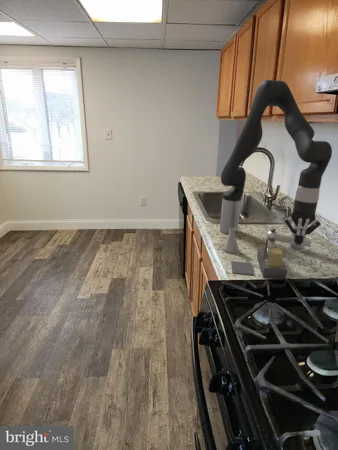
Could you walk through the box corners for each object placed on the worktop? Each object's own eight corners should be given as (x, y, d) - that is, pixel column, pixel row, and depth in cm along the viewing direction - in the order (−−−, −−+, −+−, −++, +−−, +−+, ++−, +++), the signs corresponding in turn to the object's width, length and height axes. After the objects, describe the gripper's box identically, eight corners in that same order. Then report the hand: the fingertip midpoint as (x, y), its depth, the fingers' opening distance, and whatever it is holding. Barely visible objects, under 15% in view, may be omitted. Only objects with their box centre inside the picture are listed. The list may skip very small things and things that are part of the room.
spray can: (301, 246, 140) (309, 205, 134) (305, 252, 134) (313, 209, 127) (286, 245, 141) (294, 204, 134) (289, 250, 135) (297, 207, 128)
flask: (227, 245, 138) (229, 225, 135) (241, 250, 134) (244, 229, 130) (218, 250, 133) (221, 229, 129) (233, 255, 128) (236, 233, 125)
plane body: (257, 257, 127) (260, 235, 124) (276, 259, 126) (280, 237, 123) (262, 277, 110) (266, 253, 107) (285, 280, 109) (290, 255, 106)
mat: (231, 261, 122) (231, 260, 122) (251, 263, 121) (251, 262, 121) (232, 273, 112) (232, 272, 112) (254, 275, 111) (254, 274, 111)
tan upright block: (267, 260, 115) (269, 247, 113) (278, 261, 114) (280, 248, 112) (269, 266, 110) (271, 253, 108) (280, 267, 109) (283, 254, 108)
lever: (266, 239, 119) (267, 229, 117) (268, 236, 122) (269, 227, 120) (309, 248, 112) (311, 237, 110) (310, 244, 115) (312, 234, 114)
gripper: (322, 197, 109) (313, 241, 115) (284, 195, 111) (277, 238, 117) (329, 203, 102) (319, 249, 108) (289, 200, 104) (281, 246, 110)
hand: (297, 243), depth 112 cm, fingers closed
